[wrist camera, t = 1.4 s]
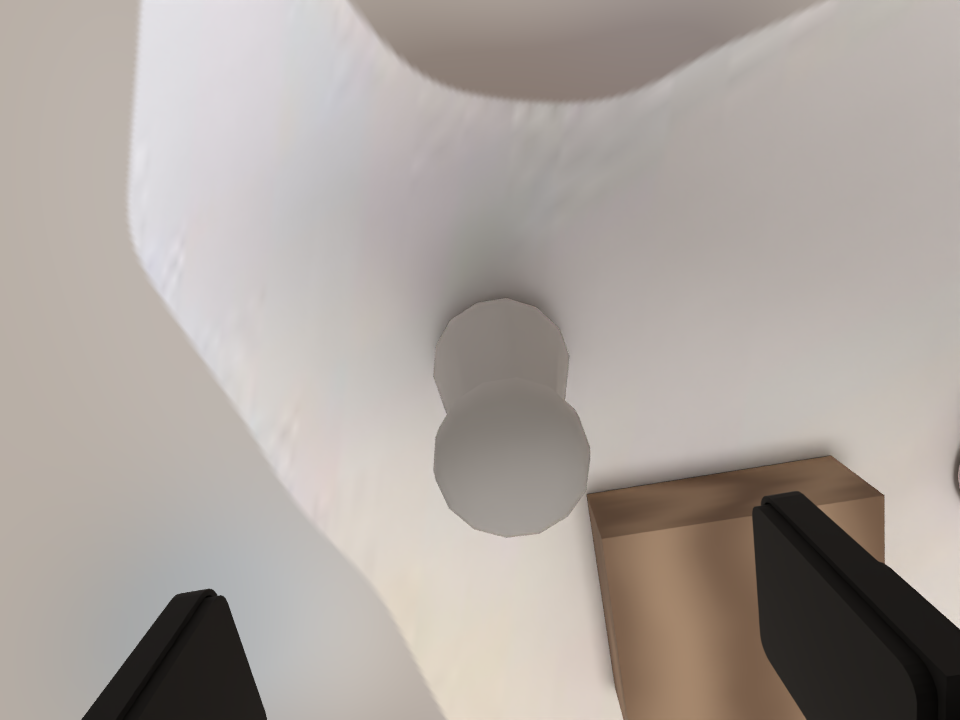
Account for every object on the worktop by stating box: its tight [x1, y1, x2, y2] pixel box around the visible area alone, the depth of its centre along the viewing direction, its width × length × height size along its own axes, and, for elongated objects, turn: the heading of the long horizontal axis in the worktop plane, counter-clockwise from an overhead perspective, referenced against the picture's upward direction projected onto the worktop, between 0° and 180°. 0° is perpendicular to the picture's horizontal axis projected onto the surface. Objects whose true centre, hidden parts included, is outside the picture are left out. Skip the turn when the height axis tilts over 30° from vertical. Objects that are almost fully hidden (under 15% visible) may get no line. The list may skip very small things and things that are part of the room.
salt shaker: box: [433, 298, 590, 538], centre depth 21 cm, size 6×6×13 cm
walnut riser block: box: [587, 456, 885, 720], centre depth 29 cm, size 12×12×4 cm
